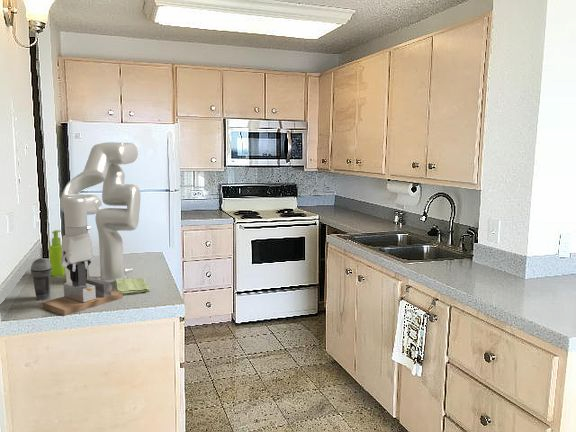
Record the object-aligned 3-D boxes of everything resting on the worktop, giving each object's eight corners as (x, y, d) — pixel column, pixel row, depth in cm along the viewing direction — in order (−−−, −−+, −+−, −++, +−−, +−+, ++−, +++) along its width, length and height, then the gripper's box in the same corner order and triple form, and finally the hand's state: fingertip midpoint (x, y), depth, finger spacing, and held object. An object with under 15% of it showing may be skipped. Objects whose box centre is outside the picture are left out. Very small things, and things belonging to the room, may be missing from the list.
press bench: (100, 291, 193) (99, 274, 192) (122, 297, 185) (122, 280, 184) (42, 307, 173) (41, 288, 172) (64, 315, 165) (63, 295, 164)
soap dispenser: (68, 272, 221) (65, 229, 218) (61, 276, 214) (59, 232, 211) (55, 272, 221) (52, 229, 218) (48, 276, 214) (45, 232, 211)
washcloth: (116, 297, 187) (116, 289, 186) (113, 285, 202) (112, 278, 202) (151, 293, 192) (150, 286, 191) (145, 282, 208) (144, 275, 207)
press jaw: (76, 293, 183) (74, 259, 181) (98, 299, 175) (96, 265, 173) (64, 296, 178) (62, 262, 177) (85, 303, 171) (84, 267, 169)
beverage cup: (48, 294, 188) (45, 244, 185) (57, 298, 184) (54, 247, 181) (29, 298, 183) (25, 247, 180) (37, 302, 178) (34, 250, 175)
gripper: (90, 227, 182) (92, 273, 185) (48, 233, 169) (52, 283, 172) (102, 229, 178) (104, 276, 181) (61, 235, 165) (64, 287, 167)
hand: (79, 279), depth 176 cm, fingers closed on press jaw, 3 cm apart
